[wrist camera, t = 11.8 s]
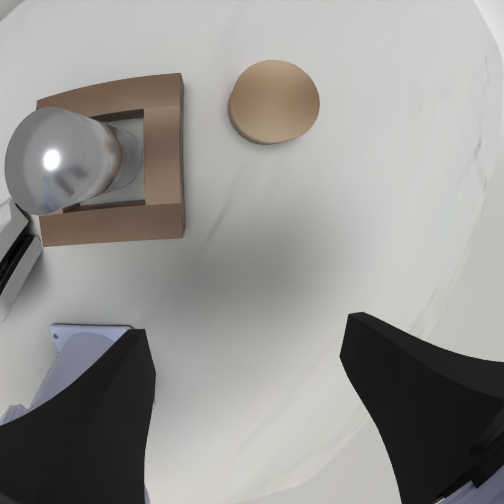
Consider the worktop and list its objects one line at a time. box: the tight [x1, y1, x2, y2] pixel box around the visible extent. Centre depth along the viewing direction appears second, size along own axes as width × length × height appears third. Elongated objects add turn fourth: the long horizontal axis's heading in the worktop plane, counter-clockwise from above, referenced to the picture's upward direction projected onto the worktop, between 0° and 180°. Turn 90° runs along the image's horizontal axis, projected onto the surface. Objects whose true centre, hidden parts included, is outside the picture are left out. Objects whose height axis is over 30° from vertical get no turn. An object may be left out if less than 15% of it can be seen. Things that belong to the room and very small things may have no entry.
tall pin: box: [5, 107, 141, 215], centre depth 12 cm, size 4×4×9 cm
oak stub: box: [228, 60, 320, 145], centre depth 15 cm, size 5×5×4 cm
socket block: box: [36, 73, 185, 247], centre depth 15 cm, size 10×10×3 cm
